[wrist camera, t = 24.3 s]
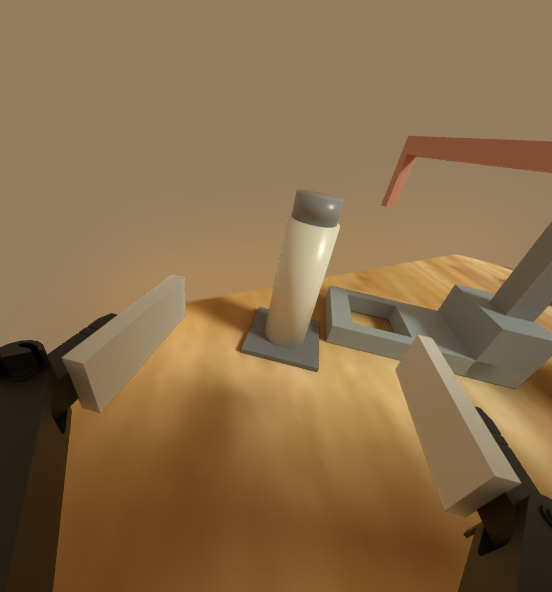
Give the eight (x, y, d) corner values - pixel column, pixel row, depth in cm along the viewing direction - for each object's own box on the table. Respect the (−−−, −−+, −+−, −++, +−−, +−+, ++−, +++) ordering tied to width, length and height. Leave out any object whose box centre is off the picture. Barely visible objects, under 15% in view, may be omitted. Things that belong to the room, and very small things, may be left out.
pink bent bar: (580, 272, 24) (691, 154, 19) (565, 272, 23) (680, 144, 17) (392, 206, 44) (420, 139, 38) (378, 204, 42) (405, 134, 37)
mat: (318, 324, 31) (319, 321, 31) (317, 371, 24) (318, 368, 24) (258, 310, 31) (259, 306, 31) (240, 352, 24) (241, 348, 24)
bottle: (305, 326, 29) (345, 197, 21) (302, 352, 25) (350, 206, 17) (269, 317, 29) (295, 187, 22) (261, 341, 25) (289, 193, 18)
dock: (469, 334, 36) (589, 181, 25) (515, 389, 27) (730, 193, 16) (325, 299, 37) (379, 139, 26) (326, 341, 28) (408, 129, 17)
